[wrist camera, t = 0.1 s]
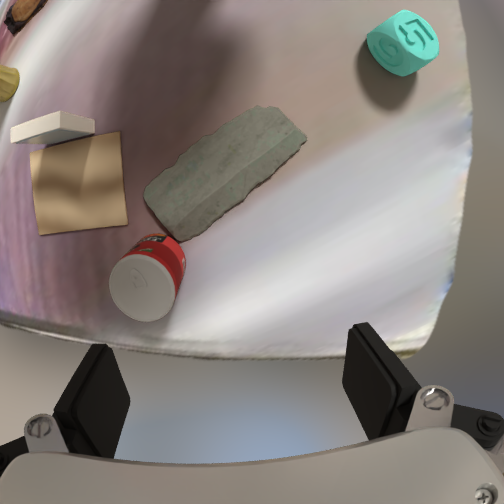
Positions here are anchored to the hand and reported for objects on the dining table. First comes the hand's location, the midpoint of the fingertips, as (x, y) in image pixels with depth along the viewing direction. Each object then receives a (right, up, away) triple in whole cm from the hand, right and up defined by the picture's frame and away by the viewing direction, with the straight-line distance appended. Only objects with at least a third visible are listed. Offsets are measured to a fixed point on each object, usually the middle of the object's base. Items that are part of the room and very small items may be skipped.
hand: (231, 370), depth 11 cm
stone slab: (-3, +16, +28) cm, 33 cm away
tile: (-25, +22, +24) cm, 41 cm away
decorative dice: (+22, +36, +24) cm, 48 cm away
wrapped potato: (-39, +48, +16) cm, 63 cm away
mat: (-25, +14, +26) cm, 39 cm away
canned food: (-12, +3, +31) cm, 33 cm away
